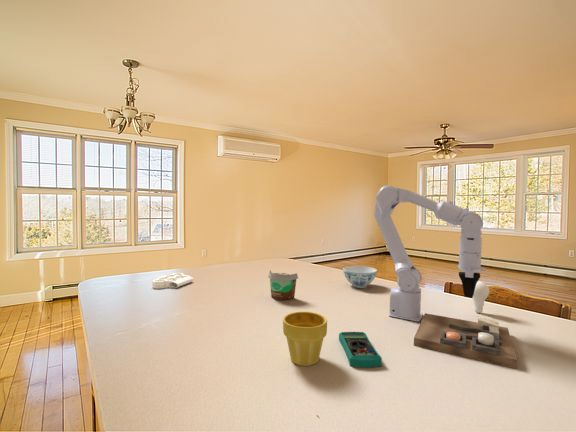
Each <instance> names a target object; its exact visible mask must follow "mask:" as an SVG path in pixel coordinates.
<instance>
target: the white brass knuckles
mask: <svg viewBox="0 0 576 432" xmlns="http://www.w3.org/2000/svg"><path fill="white" fill-rule="evenodd" d="M192 282H194V277H192V276H190V275H187V274H186V275H185V273H182V272H175V273H174V272H173V273H171V274H166V275H162V276H159V277H157V278H156V279H152V283H151V286H152V289H156V290H157V289H165V288H167V289H168V288H169V289H177V288H179V287H182V286H185V285H188V284H190V283H192Z"/></svg>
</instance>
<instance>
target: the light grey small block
mask: <svg viewBox="0 0 576 432" xmlns="http://www.w3.org/2000/svg"><path fill="white" fill-rule="evenodd" d="M489 334H491V335H493V336H494V340H499V330H498V328H497V327H492V326H489Z"/></svg>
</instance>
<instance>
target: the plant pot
mask: <svg viewBox="0 0 576 432" xmlns="http://www.w3.org/2000/svg"><path fill="white" fill-rule="evenodd" d="M282 332H283V334H284V336H285V338H286V341H287V346H288V353H289V356H290V360H291V362H292V364H293V363H294V364H295V365H298V366H303V367H307V366H313V365H315V364H317V363H318V362H319V359H320V355H321V351H322V347H323V343H324V342H323V341H324V338H325V337H326V336H327V332H328V320H327V318H326V316H324V315H323V314H321V313H317V312H314V311H294V312H290V313H288V314H286V315H285V316H284V317H283V319H282Z"/></svg>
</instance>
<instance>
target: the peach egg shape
mask: <svg viewBox="0 0 576 432" xmlns="http://www.w3.org/2000/svg"><path fill="white" fill-rule="evenodd" d="M460 337H461V335H460V334H458V333H456V332H447V333H446V338H447V339H451V340H456V341H460Z"/></svg>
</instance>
